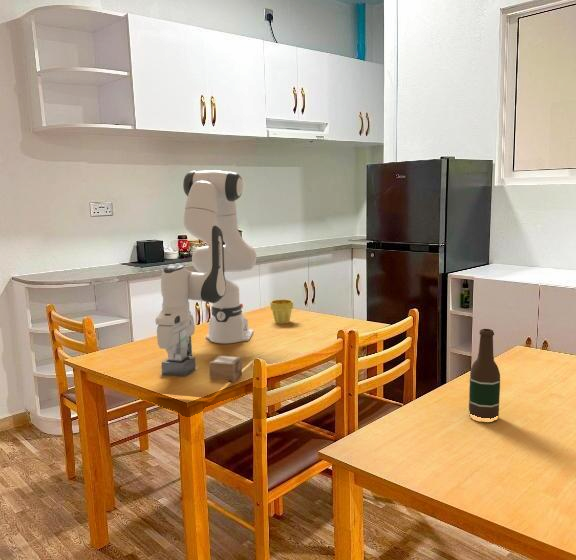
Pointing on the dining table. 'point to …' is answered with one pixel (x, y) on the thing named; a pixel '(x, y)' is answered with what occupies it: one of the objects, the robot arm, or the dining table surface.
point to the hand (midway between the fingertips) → (178, 354)
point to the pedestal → (226, 368)
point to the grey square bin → (178, 367)
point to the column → (180, 348)
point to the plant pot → (281, 310)
